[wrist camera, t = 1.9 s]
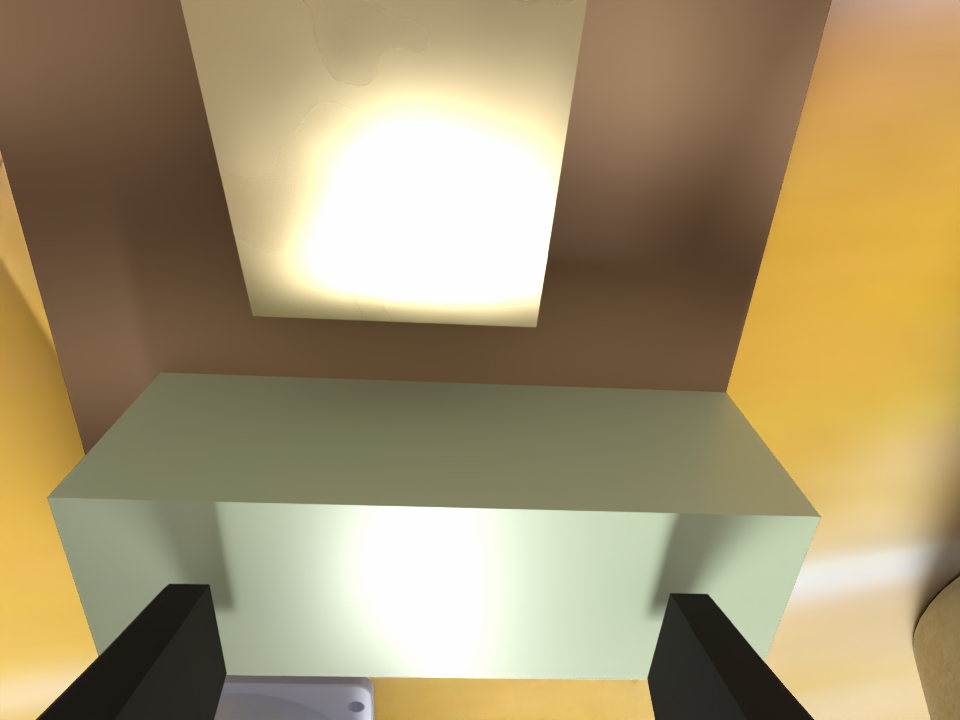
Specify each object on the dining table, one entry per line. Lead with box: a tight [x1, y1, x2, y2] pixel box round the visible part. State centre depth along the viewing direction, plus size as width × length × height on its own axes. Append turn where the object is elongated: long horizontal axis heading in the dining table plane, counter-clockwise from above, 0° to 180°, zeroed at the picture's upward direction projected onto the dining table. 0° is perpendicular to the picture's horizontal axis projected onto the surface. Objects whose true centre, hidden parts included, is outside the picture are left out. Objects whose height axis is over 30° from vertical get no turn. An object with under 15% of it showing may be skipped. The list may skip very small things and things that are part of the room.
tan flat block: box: [180, 0, 587, 327], centre depth 9 cm, size 6×5×1 cm
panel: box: [0, 0, 832, 455], centre depth 12 cm, size 24×14×4 cm, turn 177°
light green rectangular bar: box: [47, 372, 821, 680], centre depth 12 cm, size 4×12×4 cm, turn 87°
